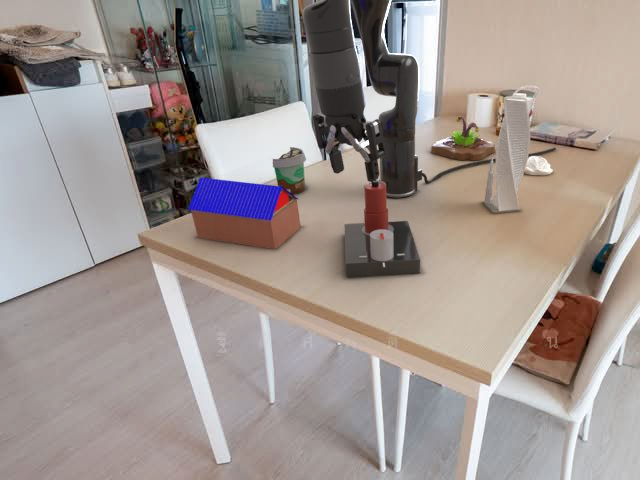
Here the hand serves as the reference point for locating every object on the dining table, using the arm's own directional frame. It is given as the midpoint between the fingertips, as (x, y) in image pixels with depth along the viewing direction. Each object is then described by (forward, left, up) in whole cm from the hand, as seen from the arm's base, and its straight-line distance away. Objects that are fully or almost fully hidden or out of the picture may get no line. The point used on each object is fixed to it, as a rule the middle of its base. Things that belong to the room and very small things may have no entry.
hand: (355, 175), depth 83 cm
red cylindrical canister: (-7, -4, -14) cm, 16 cm away
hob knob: (-1, +6, -14) cm, 15 cm away
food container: (-8, -45, -18) cm, 48 cm away
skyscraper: (-44, -2, -18) cm, 47 cm away
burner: (-7, -4, -14) cm, 17 cm away
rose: (-73, -16, -18) cm, 76 cm away
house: (+13, -26, -18) cm, 34 cm away
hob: (-4, +1, -17) cm, 18 cm away
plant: (-70, -45, -18) cm, 85 cm away
